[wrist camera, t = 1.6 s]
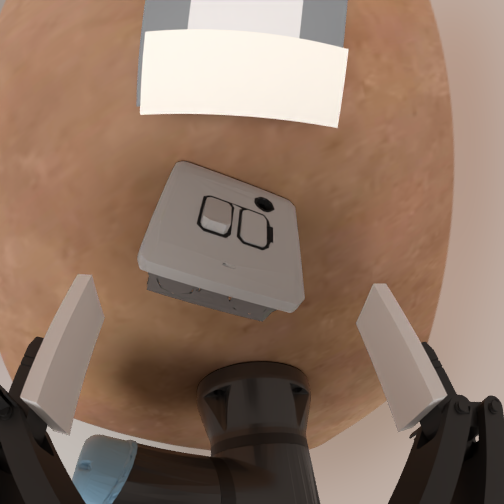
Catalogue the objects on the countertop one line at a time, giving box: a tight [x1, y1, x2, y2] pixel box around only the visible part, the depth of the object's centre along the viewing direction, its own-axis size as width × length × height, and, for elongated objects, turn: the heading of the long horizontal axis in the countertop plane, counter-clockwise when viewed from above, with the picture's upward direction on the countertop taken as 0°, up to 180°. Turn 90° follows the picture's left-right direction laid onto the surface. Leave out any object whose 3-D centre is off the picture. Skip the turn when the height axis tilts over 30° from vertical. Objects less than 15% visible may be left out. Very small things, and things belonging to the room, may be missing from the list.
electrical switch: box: [137, 161, 305, 322], centre depth 18 cm, size 9×5×9 cm, turn 66°
